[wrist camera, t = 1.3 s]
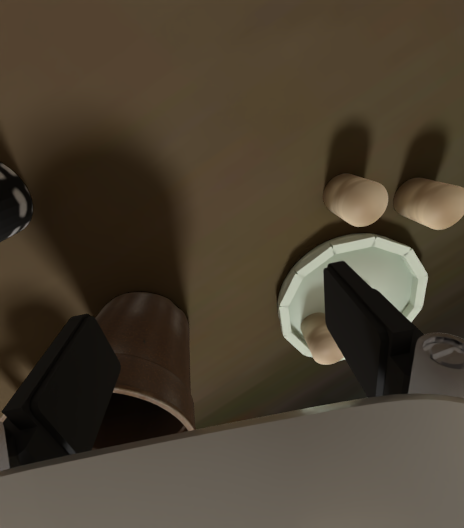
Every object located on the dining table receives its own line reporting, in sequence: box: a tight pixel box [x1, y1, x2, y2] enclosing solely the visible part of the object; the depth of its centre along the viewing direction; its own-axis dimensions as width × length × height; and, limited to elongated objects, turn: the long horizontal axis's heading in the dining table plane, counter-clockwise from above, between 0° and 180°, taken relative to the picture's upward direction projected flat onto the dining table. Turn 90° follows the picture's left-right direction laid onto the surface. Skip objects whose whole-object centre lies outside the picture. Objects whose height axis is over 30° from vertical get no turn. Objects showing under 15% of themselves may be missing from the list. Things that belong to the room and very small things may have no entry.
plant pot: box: [0, 292, 196, 451], centre depth 29 cm, size 16×16×16 cm
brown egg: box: [393, 178, 464, 230], centre depth 28 cm, size 4×4×5 cm
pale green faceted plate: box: [277, 233, 428, 360], centre depth 35 cm, size 19×19×2 cm
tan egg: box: [323, 173, 388, 227], centre depth 28 cm, size 4×4×5 cm
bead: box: [300, 312, 344, 365], centre depth 35 cm, size 4×4×5 cm
